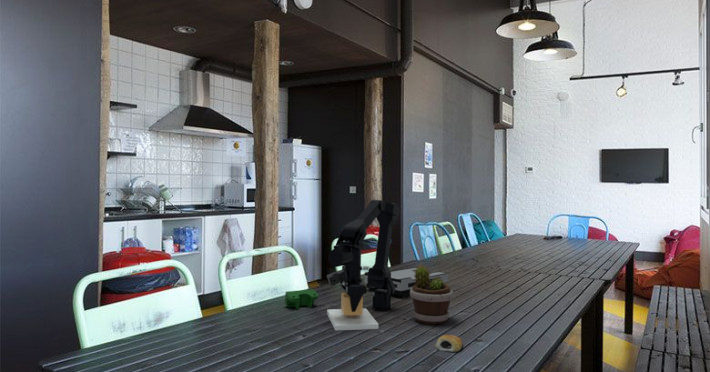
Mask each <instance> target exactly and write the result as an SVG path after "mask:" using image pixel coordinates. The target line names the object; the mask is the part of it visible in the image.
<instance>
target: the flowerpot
mask: <svg viewBox="0 0 710 372" xmlns="http://www.w3.org/2000/svg"><path fill="white" fill-rule="evenodd" d="M416 268H418V269H417V270H415V271H416V272H415V271H414V273H416V274H415V278H414V277H413V278H414V279H415V281H416V284H415V285H414V286H413V288H412V289H411V290H410V297H409V298H412V304H413V307H414V309H413V311H412V313H413V315H414V318H415V319H416V321H417V322H418V323H421V324H425V325H442V324H445V323H446V322H447V320H448V319H449V315H450V312H449V311H448V310H449V307H450V303H451V301H452V300H453V298H454V292H453V290H452V289H451V287H450V286H449V285H448V284H446V283H445V282H443V281H442V280H441V279H440V278H439V279H438V277H437V279H436V278H435V277H434V278H435V279H434V280H432V281H431V283H429V282H428V281H429V280H430V278H429V277H430V276H429V275H431V274H430V273H431V270H430V269H429V268H427V266H426V263H425V264H422V262H420V264H419V265H417V266H416Z"/></svg>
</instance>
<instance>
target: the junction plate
mask: <svg viewBox="0 0 710 372" xmlns="http://www.w3.org/2000/svg"><path fill="white" fill-rule="evenodd" d="M326 310H327V311H326V314H327V317H328V319H329V321H330V323H331V325H332V326H333V329H334V331H335V332H336V331H354V330H355V331H358V330H359V331H360V330H378V329H379V323H378V322H377V320H376V319H375V318H374V317H373V315H372V314H371V312H369V310H368V309H367V308H363V314H362V315H343V313H342V311H341V308H340V309H339V308H337V309H326Z"/></svg>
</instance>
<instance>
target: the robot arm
mask: <svg viewBox="0 0 710 372" xmlns="http://www.w3.org/2000/svg"><path fill="white" fill-rule="evenodd" d="M400 213H401V209H400V207H399V206H398V204H397V203H394V202H392V203H391V202H387V201H384V200H383V199H372V200H370V201H369V203H368V205H367V206H366V207H365V209H364V210H363V211H362V212H361V213H360V215H359V216H357V217H356V219H355V220H352V221H350V222H347V224H345V225H344V226H343V227H342V228H341V231H340V234H339V236H338V239H337V240H336V243H335V245H333V249H332V250H330V251H329V253H328V257H327V259H328V262H329V264H330V265H331V266H332V267H334V268H339V267H341V269H339V270H337V271H334V272H331V273H329V274H326V278H327V280H328V284H329V286H331V287H334V286H336V285H337V284H340V287H341V288H342V290H344V291H345V292H344V293H347V294H348V295H349V296H350V303H351V309H352V312H355V311H356V309H357V307H358V304H359V302H360V300H361V298H362V297H364V295H365V294H367V289H368V292H372V294H371V297H370V306H371V309H373V310H374V311H392V310H393V309H392V306H391V303H392V301H391V300H392V299H391V298H392V294H393V293H394V292H395V285H394V283H393V281H392V280H391V272H390V271H391V270H390V267H389V259H390V250H391V243H392V233H393V227H394V226H395V224H396V223H397V222H398V220H399V216H400ZM375 220H377V222H378V225H379V227H378V236H377V241H376V242H377V244H376V250H375V251H376V252H375V258H374V259H375V261H374V264H373V266H372V267H369V268H368V270H367V272H368V277H367V283H368V288H367V285H365V283H363V279H362V277H361V275H362V270H363V266H362V249H365V246H364V245H363V244H362V243H363V242H364V240H365V238H366V237H367V235H368V234H367V233H368V232H367V230H368V228H369V227H370V225H371V224H372V223H373V222H374V221H375ZM367 283H366V284H367Z"/></svg>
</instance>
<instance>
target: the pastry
mask: <svg viewBox="0 0 710 372" xmlns="http://www.w3.org/2000/svg"><path fill="white" fill-rule="evenodd" d="M462 347H463V340H462V337H459V336H456V335H453V334H443V335H441V336H440V337H438V339H437V342H436V343H435V348H436V349H437V350H439V351H444V352H449V353H450V352H451V353H457V352H459V351H461V349H462Z"/></svg>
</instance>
